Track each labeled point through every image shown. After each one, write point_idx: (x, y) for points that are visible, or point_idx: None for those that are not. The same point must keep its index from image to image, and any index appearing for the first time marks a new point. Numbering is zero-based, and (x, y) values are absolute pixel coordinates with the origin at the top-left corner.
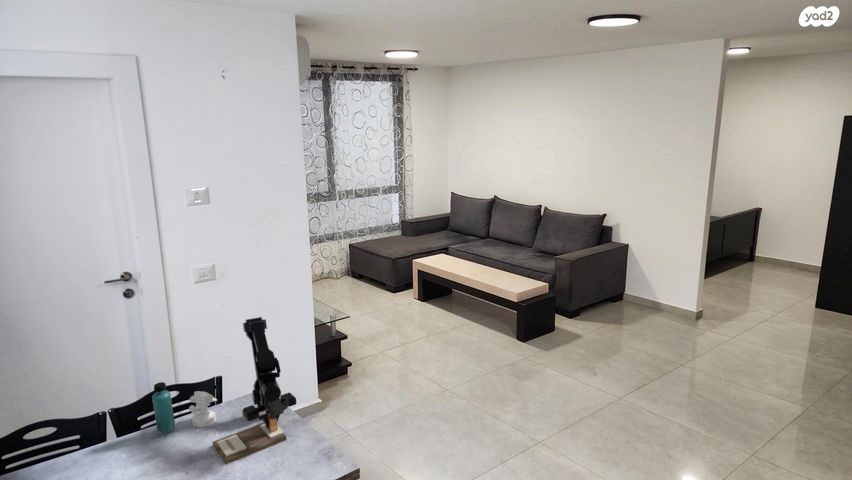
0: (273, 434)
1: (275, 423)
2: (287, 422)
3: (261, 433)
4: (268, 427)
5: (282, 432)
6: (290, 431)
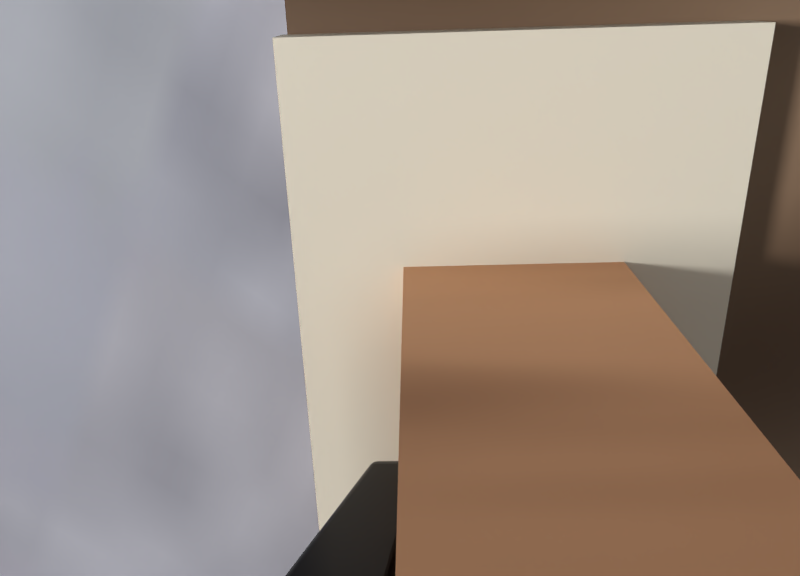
0: (615, 135)
1: (485, 424)
2: (57, 550)
3: (776, 448)
4: None
5: (318, 47)
6: (76, 200)
